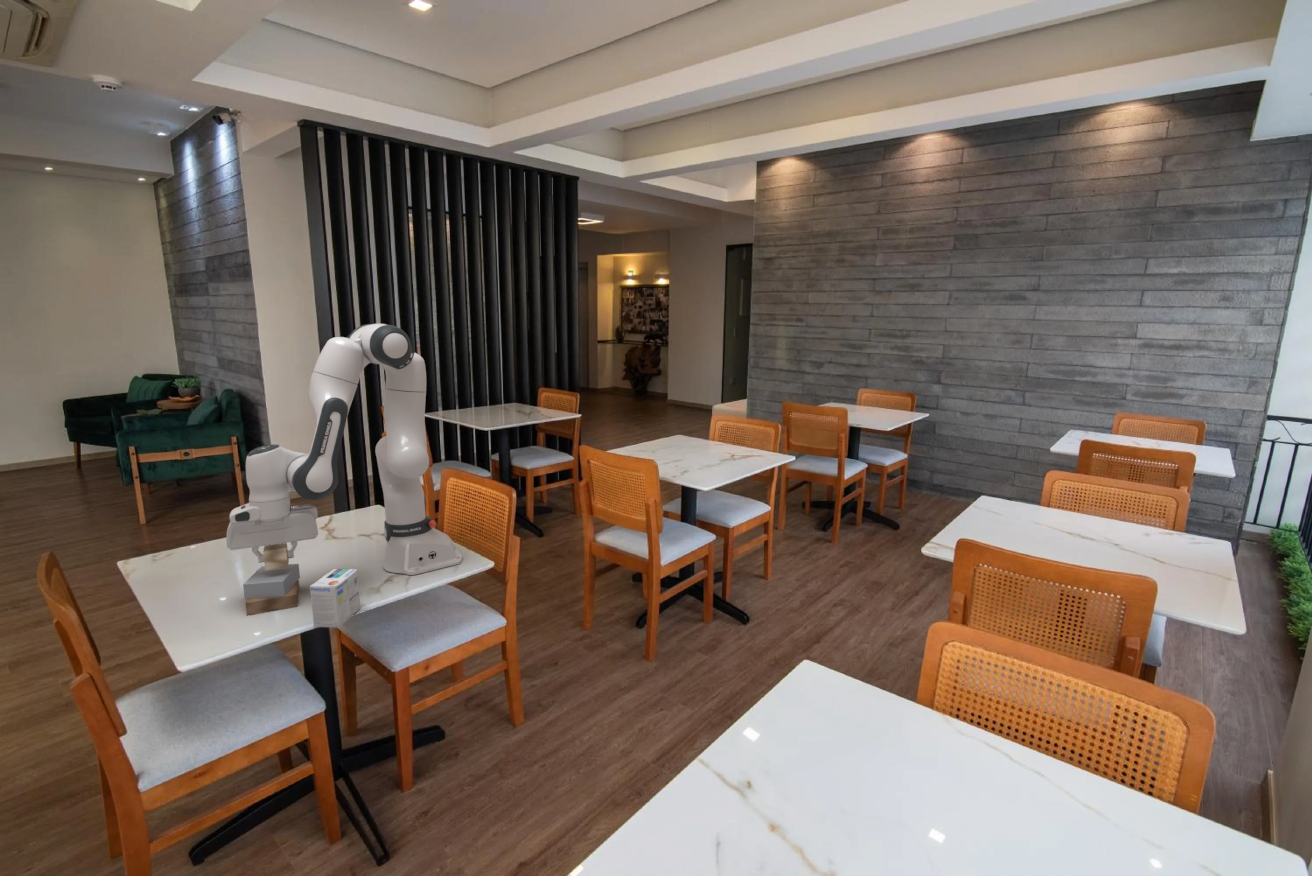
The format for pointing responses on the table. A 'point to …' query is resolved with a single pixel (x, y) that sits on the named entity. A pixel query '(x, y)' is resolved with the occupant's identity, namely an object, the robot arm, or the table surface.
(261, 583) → the slate grey block
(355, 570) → the light bulb box
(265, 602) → the walnut base slab
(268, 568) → the birch cube
